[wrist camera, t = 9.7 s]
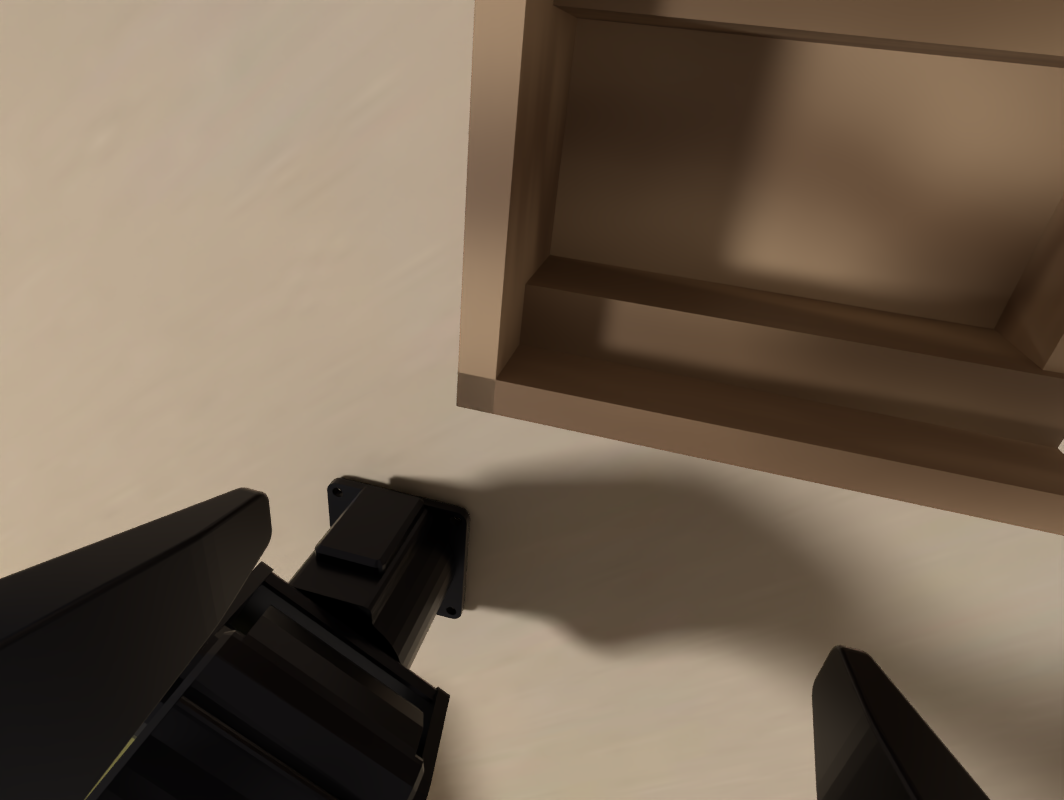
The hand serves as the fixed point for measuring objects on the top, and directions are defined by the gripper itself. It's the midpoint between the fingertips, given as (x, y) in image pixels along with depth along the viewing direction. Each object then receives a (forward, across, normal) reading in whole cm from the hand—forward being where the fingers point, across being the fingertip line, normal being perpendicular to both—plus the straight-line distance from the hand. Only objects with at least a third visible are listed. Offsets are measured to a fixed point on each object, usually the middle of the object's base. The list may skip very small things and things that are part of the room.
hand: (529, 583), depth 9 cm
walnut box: (+13, -4, -5) cm, 14 cm away
